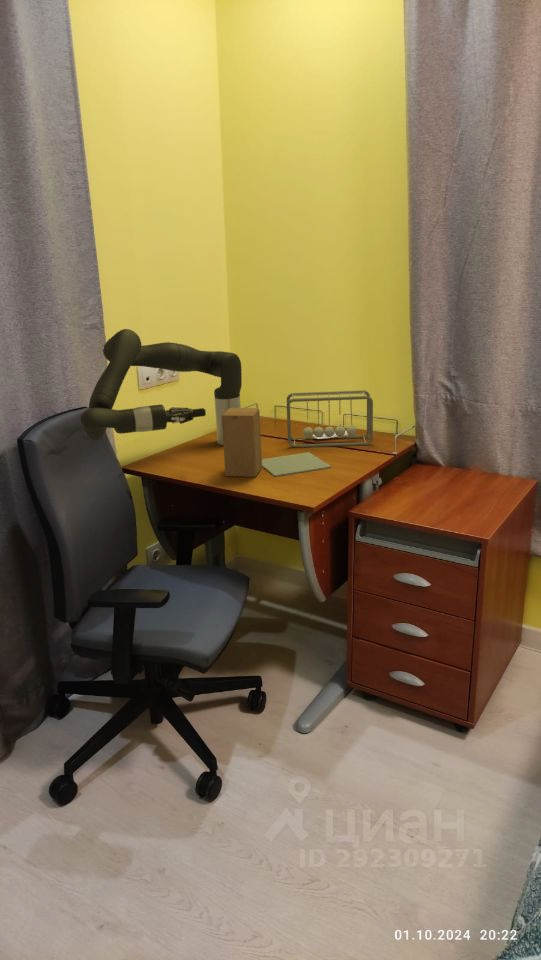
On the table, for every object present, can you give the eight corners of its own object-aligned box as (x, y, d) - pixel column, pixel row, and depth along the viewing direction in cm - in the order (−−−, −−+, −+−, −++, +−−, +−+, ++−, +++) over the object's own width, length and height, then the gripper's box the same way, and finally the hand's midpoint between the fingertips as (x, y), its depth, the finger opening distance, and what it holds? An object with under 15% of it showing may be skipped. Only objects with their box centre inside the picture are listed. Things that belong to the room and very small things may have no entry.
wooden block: (256, 477, 222) (252, 415, 215) (225, 476, 224) (220, 415, 217) (262, 467, 231) (259, 407, 225) (232, 467, 233) (229, 407, 227)
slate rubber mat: (255, 461, 238) (255, 460, 238) (309, 453, 244) (309, 452, 244) (274, 476, 222) (274, 475, 222) (331, 467, 228) (331, 466, 228)
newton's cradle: (369, 437, 261) (369, 389, 255) (373, 445, 251) (373, 395, 245) (288, 440, 262) (286, 393, 256) (288, 448, 252) (286, 399, 246)
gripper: (152, 410, 204) (210, 403, 210) (143, 402, 216) (198, 396, 222) (154, 435, 207) (211, 428, 212) (145, 426, 219) (200, 419, 224)
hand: (204, 411), depth 217 cm, fingers closed
